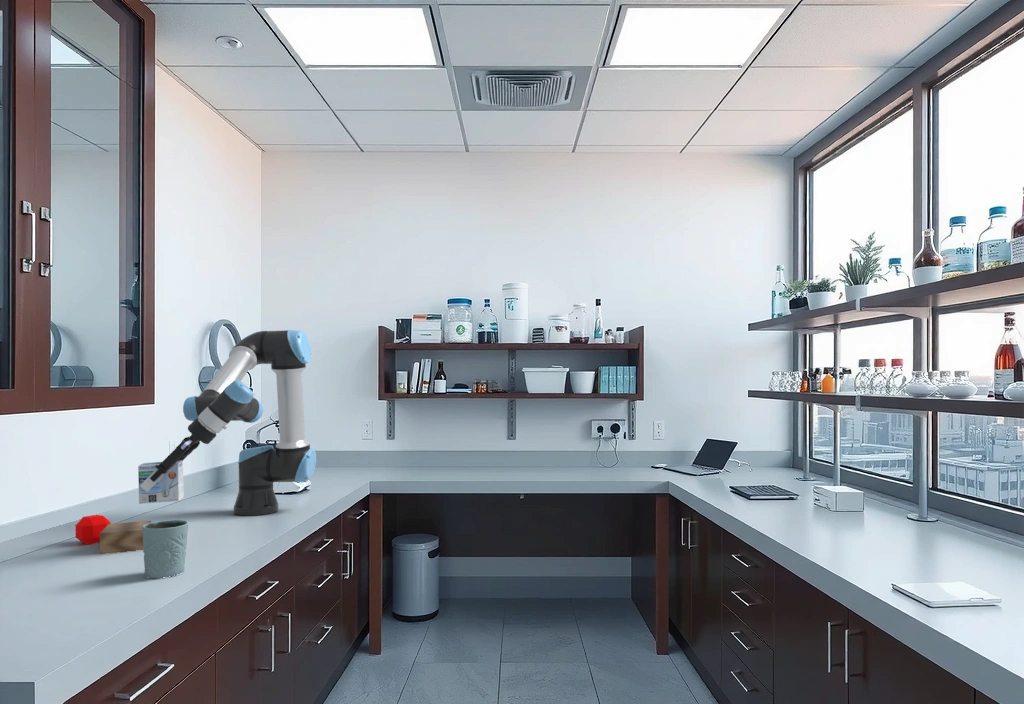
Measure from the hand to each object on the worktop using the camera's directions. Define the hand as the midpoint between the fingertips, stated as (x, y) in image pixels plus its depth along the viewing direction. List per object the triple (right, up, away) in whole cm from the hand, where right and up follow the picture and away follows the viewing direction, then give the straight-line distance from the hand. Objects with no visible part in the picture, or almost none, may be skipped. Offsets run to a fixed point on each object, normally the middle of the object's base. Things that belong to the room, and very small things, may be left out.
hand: (147, 486), depth 203 cm
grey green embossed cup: (+20, -15, -30) cm, 39 cm away
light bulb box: (+4, -4, +1) cm, 6 cm away
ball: (-20, -18, +7) cm, 27 cm away
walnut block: (-6, -17, 0) cm, 18 cm away
